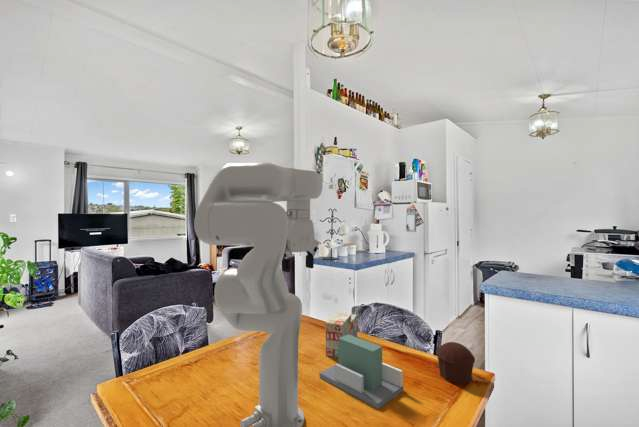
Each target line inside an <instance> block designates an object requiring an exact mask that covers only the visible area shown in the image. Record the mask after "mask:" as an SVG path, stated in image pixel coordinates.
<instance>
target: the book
mask: <svg viewBox="0 0 639 427" xmlns="http://www.w3.org/2000/svg"><path fill="white" fill-rule="evenodd" d="M382 362H383V346H381V345H378V344H375V343H373V342H370V341H367V340H365V339H362V338H360V337H358V336H357V337H354V336H351V335H349V334H348V335H345V336H343V337H340V338H339V358H338V364H339V365H342V366H344V367H346V368H348V369H350V370H352V371H354V372H357V373H359V374H361V375H363V386H364V387H366V388H368V389H370V390H372V391H373V390H375V389H376V388H378V387H379V386H381V385H382Z"/></svg>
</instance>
